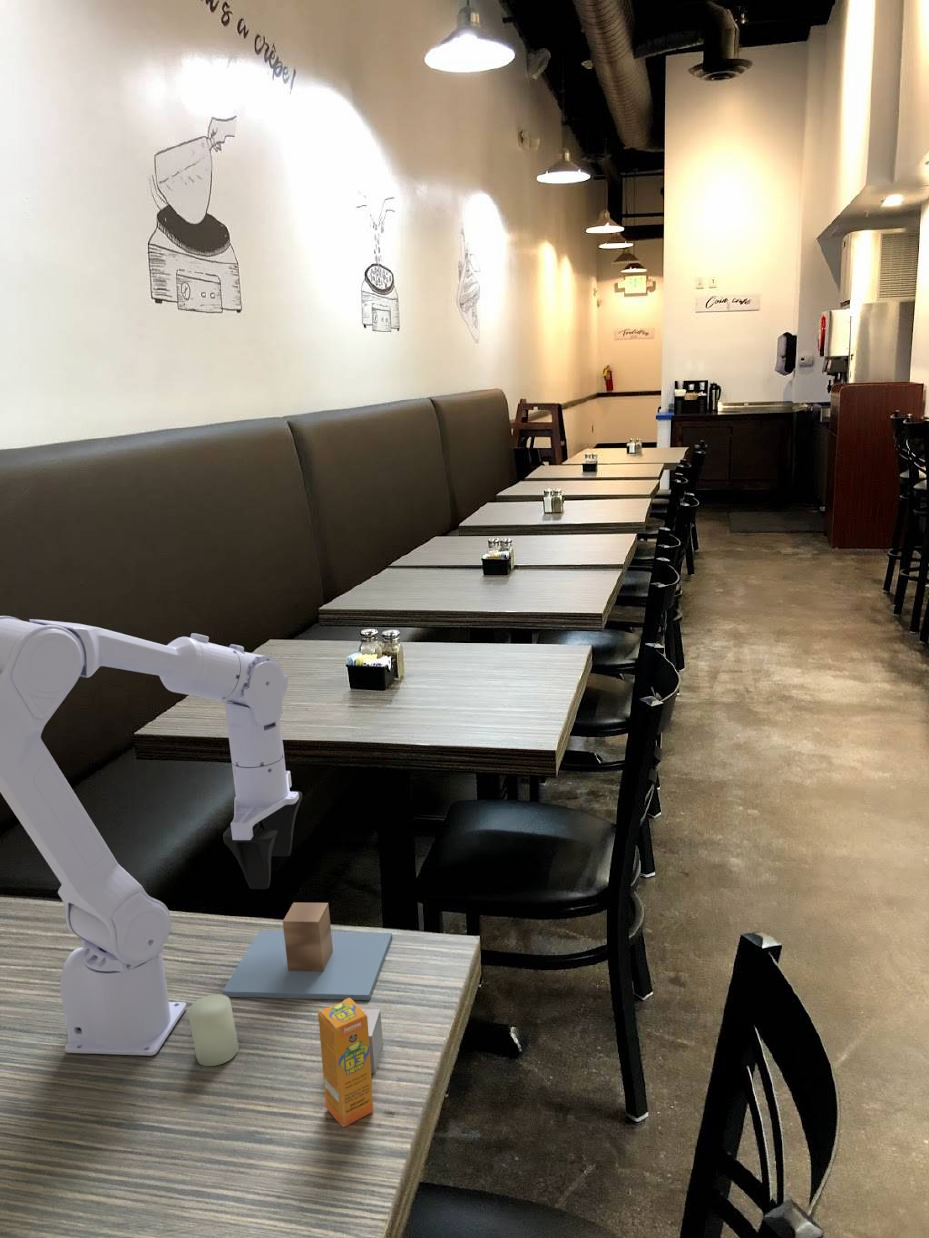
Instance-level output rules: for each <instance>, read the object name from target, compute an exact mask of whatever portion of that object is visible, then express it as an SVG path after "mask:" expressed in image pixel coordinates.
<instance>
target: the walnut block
mask: <svg viewBox="0 0 929 1238" xmlns="http://www.w3.org/2000/svg"><path fill="white" fill-rule="evenodd" d="M330 917H331V915H330V908H329V902H293V903H292V904H291V906H290V908H289V910H288V911H287V913H286V915H285V917H284V918H283V920H282V928H283V931H284V938H285V947H286V956H287V965H288V971H316V972H324V970H325V968H326V965H327V963H328V961H329V959H330V957H331V955H332V952H333V945H332V935H331V932H332V928H331V919H330Z"/></svg>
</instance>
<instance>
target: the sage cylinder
mask: <svg viewBox="0 0 929 1238" xmlns="http://www.w3.org/2000/svg"><path fill="white" fill-rule="evenodd" d="M231 1002H232V1001H231V998H229V997H227V996H225V995H222V993H221V994H218V993H217V994H209V995H206V996H203V997H201V998H199V999H197V1000H196V1001H194V1002H192V1004H191V1005H190V1006H189V1007H188V1010H187V1014H188V1021H189V1026H190V1030H191V1031H190V1032H191V1034H192V1040H193V1045H194V1050H195V1057H196V1061H197V1063H199V1064H200V1065H202V1066H203V1067H214V1066H219V1065H222V1064H225V1063H228V1061H230V1060H232V1059H233V1058H234V1057H235V1056H236V1055H237V1053H238V1052H239V1048H240V1047H239V1041H238V1035H237V1032H236V1031H237V1030H236V1024H235V1018H234V1014H233V1008H232V1003H231Z"/></svg>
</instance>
